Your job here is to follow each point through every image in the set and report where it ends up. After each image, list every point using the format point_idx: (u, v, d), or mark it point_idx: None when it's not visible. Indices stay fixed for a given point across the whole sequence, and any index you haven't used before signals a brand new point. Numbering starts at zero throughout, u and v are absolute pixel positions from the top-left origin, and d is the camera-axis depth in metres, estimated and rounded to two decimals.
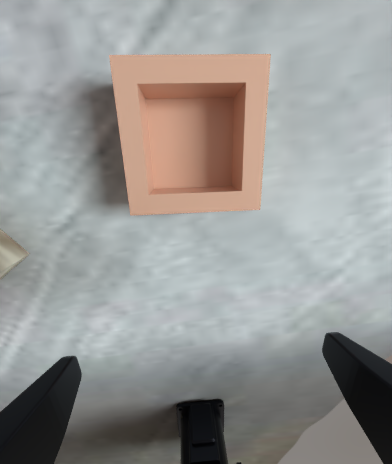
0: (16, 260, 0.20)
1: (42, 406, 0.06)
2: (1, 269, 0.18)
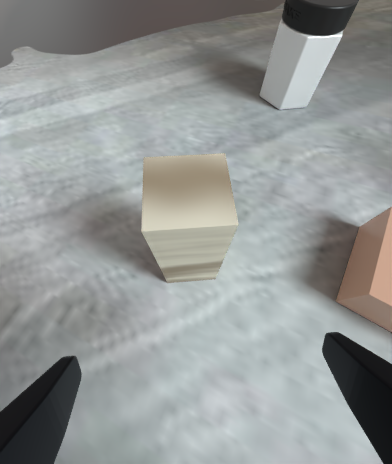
0: (216, 274, 0.21)
1: (42, 406, 0.06)
2: (218, 269, 0.19)
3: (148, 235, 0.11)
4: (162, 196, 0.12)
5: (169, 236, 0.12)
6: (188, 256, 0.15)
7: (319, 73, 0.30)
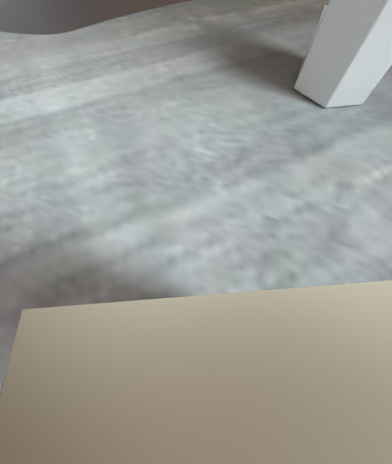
0: None
1: None
2: None
3: None
4: None
5: None
6: None
7: None
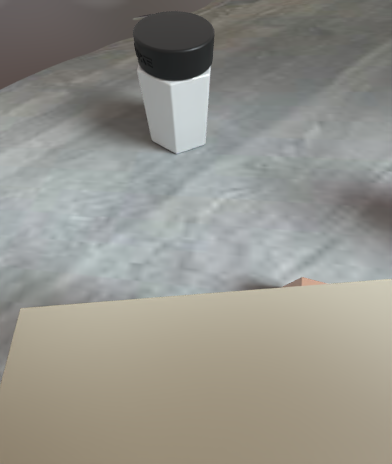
0: None
1: None
2: None
3: None
4: None
5: None
6: None
7: (203, 113, 0.26)
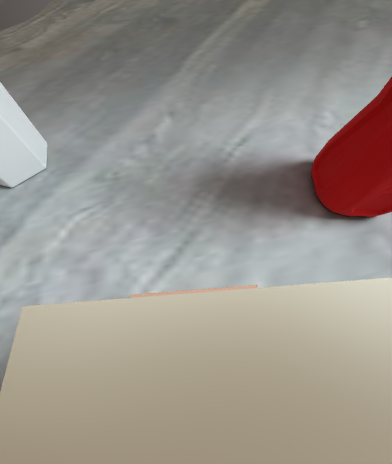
0: None
1: None
2: None
3: None
4: None
5: None
6: None
7: (12, 138, 0.22)
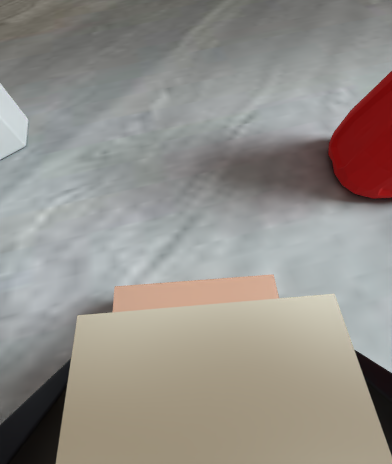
0: None
1: (57, 405, 0.06)
2: None
3: None
4: None
5: None
6: None
7: None
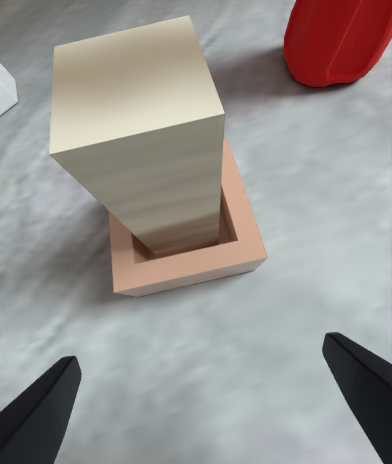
0: (217, 237, 0.16)
1: (42, 406, 0.06)
2: None
3: (70, 164, 0.06)
4: (86, 94, 0.07)
5: (110, 162, 0.07)
6: (164, 208, 0.10)
7: None
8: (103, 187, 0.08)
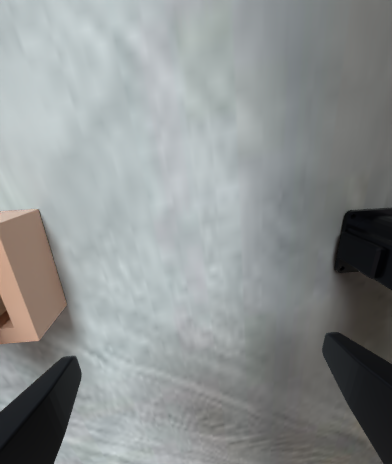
0: None
1: (42, 406, 0.06)
2: None
3: None
4: None
5: None
6: None
7: None
8: None
